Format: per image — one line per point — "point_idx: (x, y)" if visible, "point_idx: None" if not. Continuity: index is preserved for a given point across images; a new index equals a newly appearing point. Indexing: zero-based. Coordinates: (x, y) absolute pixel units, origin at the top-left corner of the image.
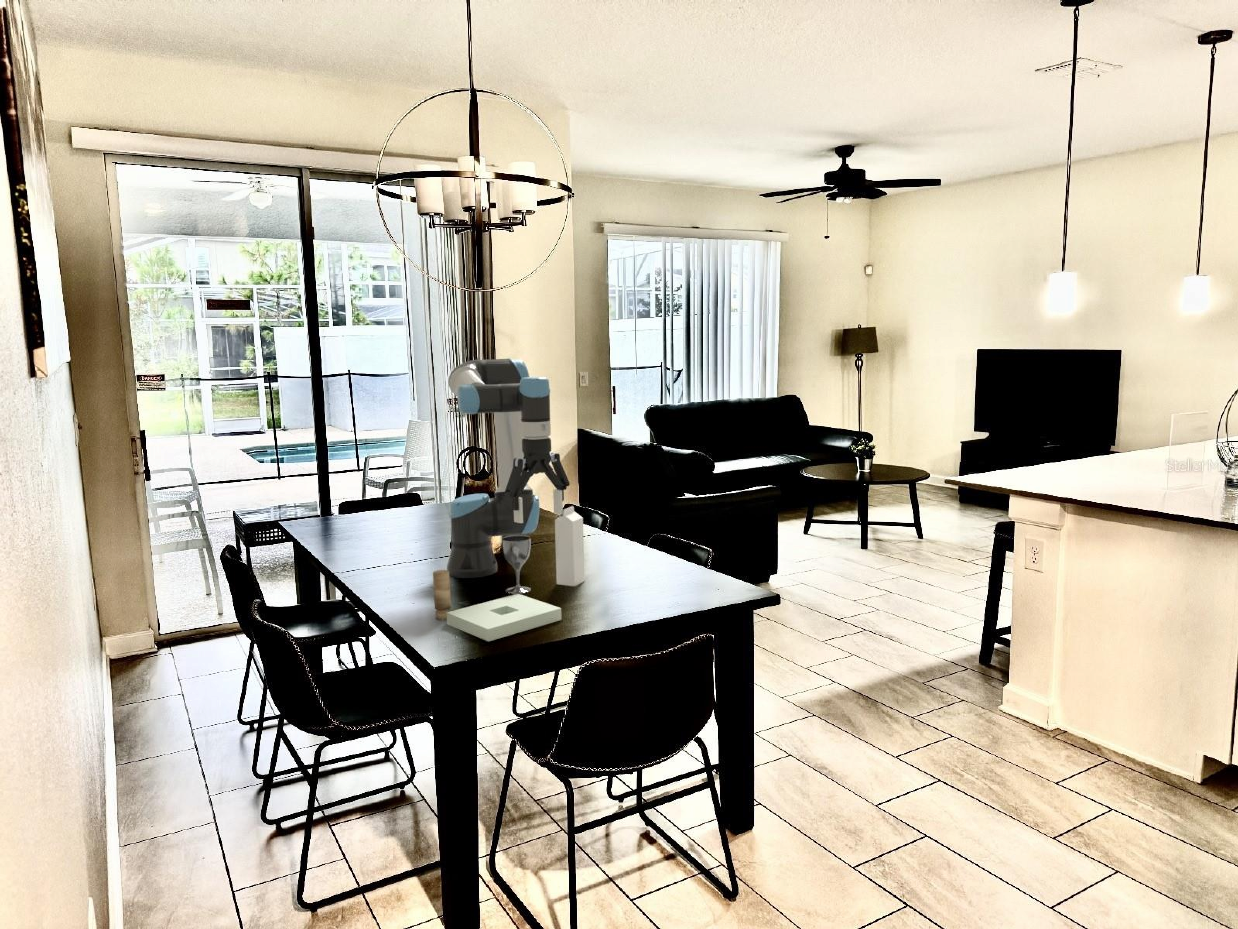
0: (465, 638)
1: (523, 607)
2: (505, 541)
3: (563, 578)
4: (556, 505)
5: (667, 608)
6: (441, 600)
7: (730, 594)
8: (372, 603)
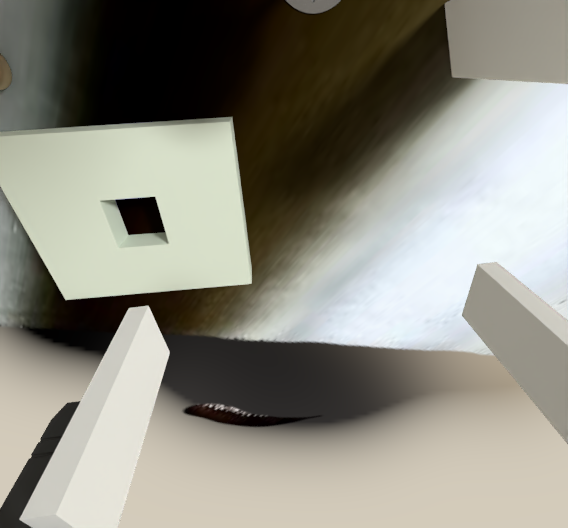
0: None
1: (186, 233)
2: None
3: (459, 32)
4: (509, 328)
5: (421, 323)
6: None
7: None
8: None
